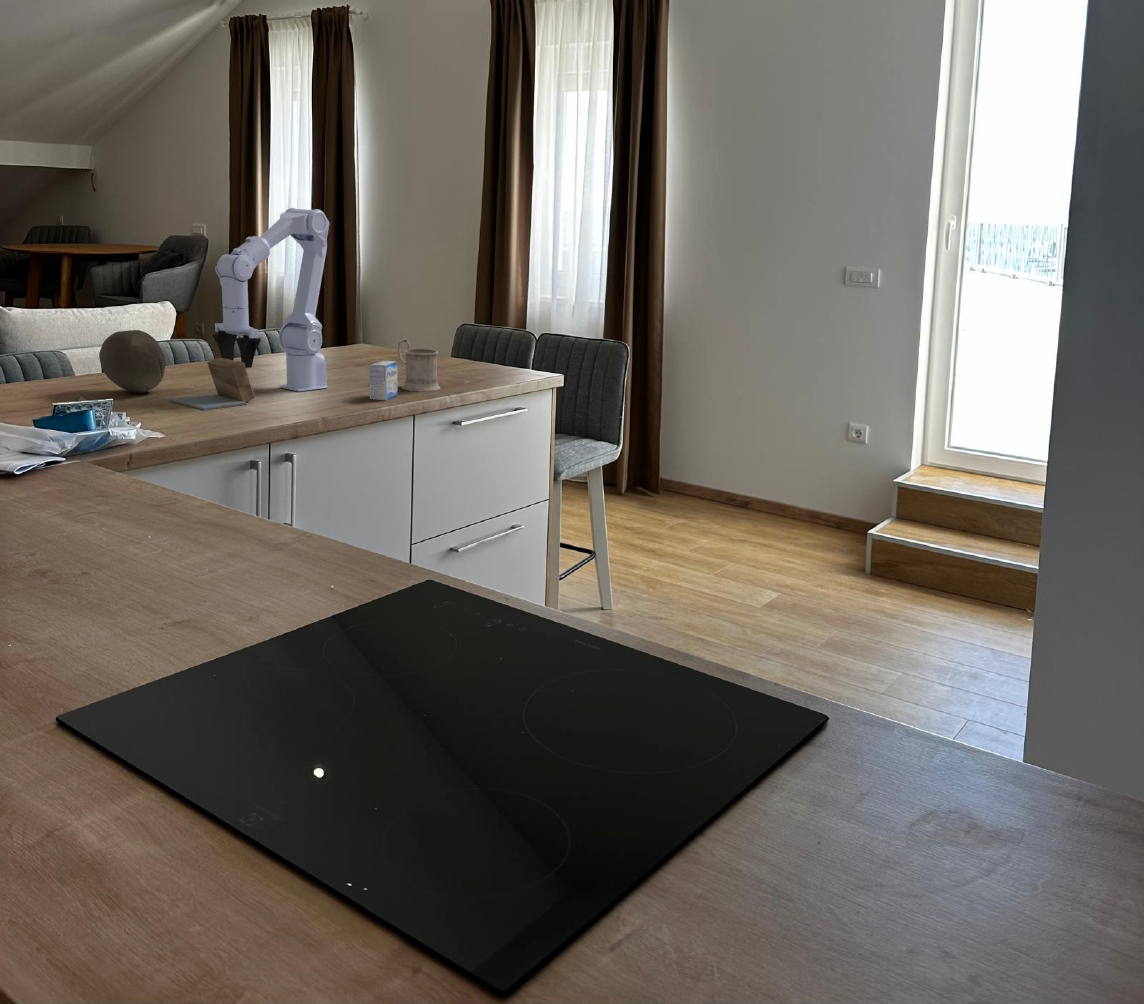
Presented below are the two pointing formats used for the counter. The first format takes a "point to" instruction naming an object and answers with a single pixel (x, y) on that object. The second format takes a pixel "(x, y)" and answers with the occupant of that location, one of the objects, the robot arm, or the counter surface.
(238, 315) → the robot arm
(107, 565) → the counter surface
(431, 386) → the mug
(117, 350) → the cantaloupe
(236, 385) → the brown wooden block
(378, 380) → the medicine box
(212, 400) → the mat
